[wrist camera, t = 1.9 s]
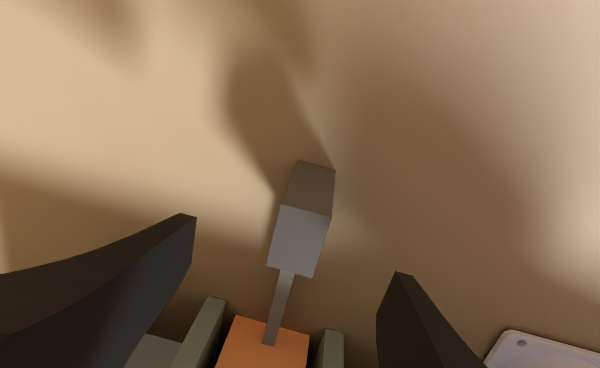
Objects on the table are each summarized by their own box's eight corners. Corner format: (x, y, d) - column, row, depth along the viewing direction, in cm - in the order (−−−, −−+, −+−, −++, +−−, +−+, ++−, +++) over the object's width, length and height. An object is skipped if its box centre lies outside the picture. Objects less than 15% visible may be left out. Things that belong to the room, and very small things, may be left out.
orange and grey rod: (363, 178, 17) (370, 227, 13) (292, 384, 24) (280, 464, 20) (269, 153, 18) (242, 193, 13) (225, 365, 24) (197, 441, 20)
